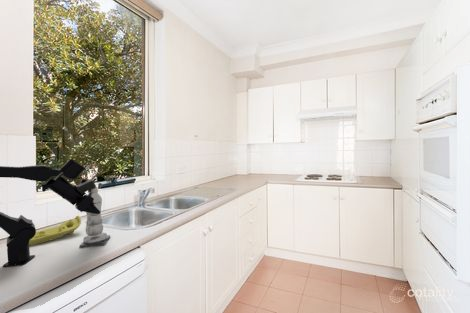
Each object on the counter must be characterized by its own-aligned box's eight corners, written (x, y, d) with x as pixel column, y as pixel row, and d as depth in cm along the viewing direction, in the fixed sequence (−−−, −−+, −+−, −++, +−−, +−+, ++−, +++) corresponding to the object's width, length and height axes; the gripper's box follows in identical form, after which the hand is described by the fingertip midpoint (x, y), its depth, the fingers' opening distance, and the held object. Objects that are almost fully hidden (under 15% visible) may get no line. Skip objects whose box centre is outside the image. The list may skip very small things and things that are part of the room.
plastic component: (27, 241, 98) (24, 226, 104) (29, 254, 101) (26, 238, 107) (83, 226, 111) (78, 213, 117) (83, 238, 114) (78, 224, 120)
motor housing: (104, 245, 98) (104, 239, 98) (79, 248, 96) (79, 241, 96) (110, 237, 107) (109, 231, 107) (87, 239, 104) (87, 233, 104)
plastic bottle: (102, 231, 106) (101, 185, 105) (104, 235, 100) (102, 188, 99) (85, 234, 102) (83, 187, 101) (86, 239, 96) (84, 189, 96)
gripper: (86, 175, 90) (118, 199, 98) (76, 171, 104) (105, 193, 112) (62, 199, 85) (97, 223, 93) (55, 192, 99) (86, 213, 107)
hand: (97, 211), depth 101 cm, fingers closed on plastic bottle, 6 cm apart
